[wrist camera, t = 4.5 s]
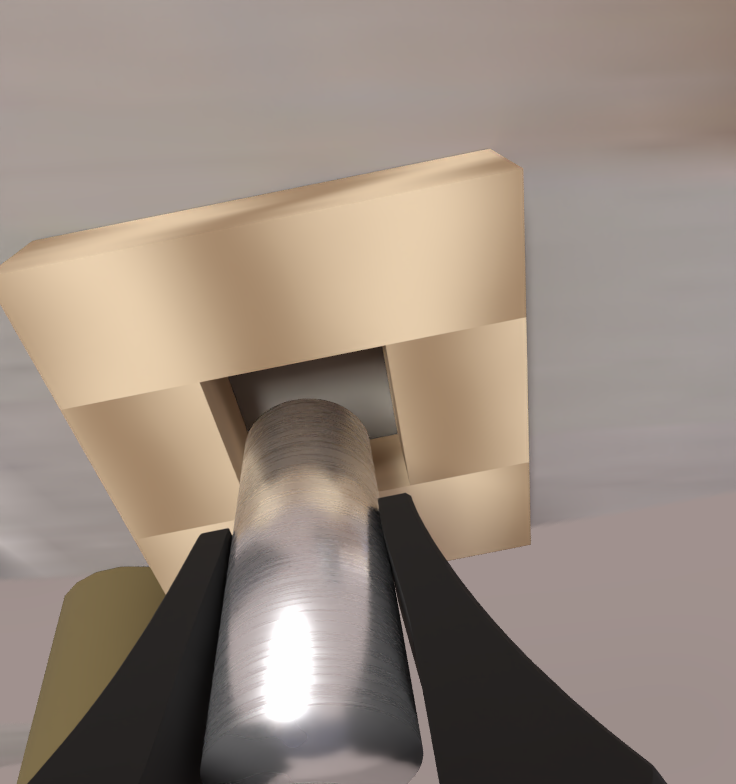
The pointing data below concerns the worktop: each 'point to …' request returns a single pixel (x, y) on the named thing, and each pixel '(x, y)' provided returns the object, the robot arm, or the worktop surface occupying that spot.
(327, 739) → the long pin
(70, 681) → the cork
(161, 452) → the oak frame
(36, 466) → the worktop surface
